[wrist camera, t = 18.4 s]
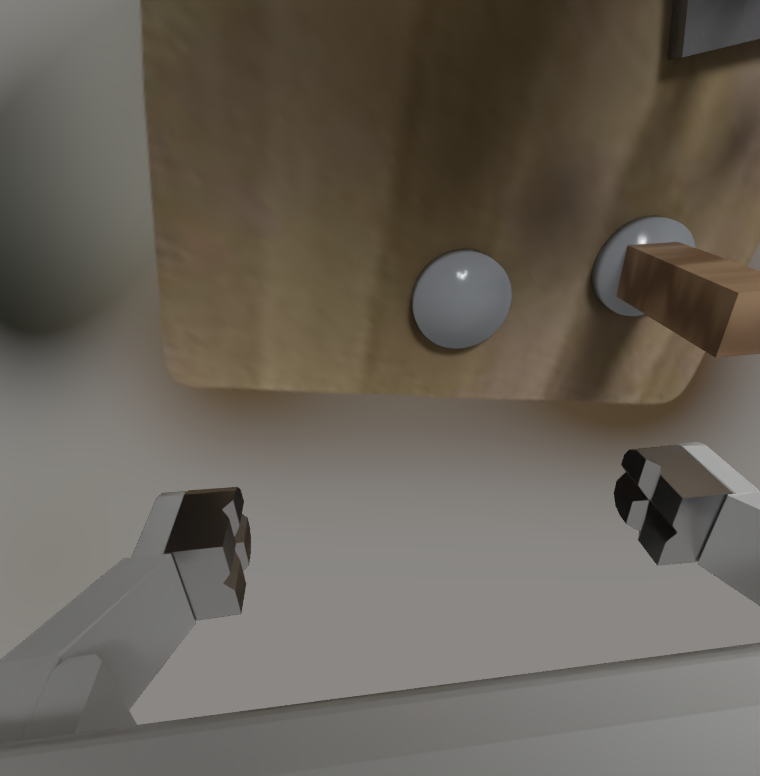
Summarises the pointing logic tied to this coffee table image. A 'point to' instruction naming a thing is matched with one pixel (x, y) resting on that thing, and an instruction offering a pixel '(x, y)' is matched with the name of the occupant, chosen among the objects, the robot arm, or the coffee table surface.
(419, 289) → the grey oval dome
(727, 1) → the balance
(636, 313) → the grey flat pebble
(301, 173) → the coffee table surface
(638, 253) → the pillar
